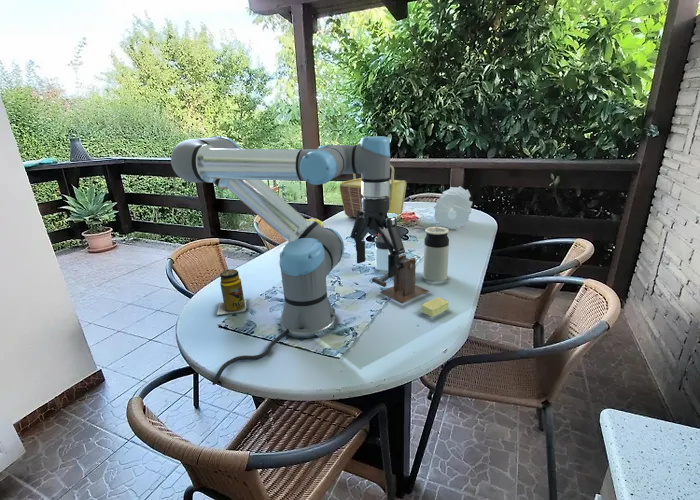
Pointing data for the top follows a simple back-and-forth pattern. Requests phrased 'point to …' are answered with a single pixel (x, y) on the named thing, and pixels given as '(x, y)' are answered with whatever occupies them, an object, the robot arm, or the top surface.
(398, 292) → the wooden lever stand
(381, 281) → the lever
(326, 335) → the top surface
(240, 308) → the condiment
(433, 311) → the butter
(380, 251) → the jar
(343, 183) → the picnic basket
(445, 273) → the travel mug
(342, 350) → the top surface
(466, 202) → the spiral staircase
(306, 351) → the top surface
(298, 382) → the top surface
